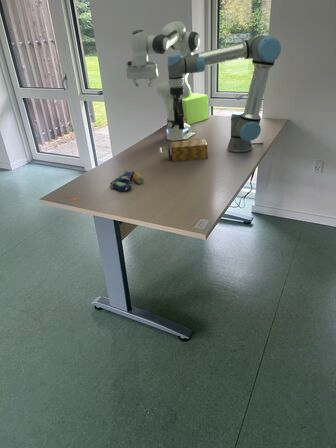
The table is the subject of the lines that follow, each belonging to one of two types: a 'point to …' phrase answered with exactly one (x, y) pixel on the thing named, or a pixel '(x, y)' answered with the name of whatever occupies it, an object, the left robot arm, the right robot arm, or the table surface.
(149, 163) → the table surface
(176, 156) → the wicker basket box
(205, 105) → the lime green box
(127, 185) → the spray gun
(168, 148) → the drawer
